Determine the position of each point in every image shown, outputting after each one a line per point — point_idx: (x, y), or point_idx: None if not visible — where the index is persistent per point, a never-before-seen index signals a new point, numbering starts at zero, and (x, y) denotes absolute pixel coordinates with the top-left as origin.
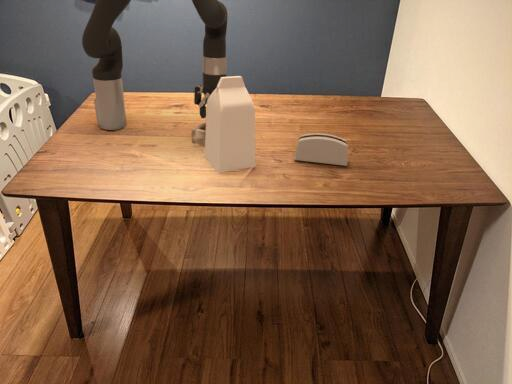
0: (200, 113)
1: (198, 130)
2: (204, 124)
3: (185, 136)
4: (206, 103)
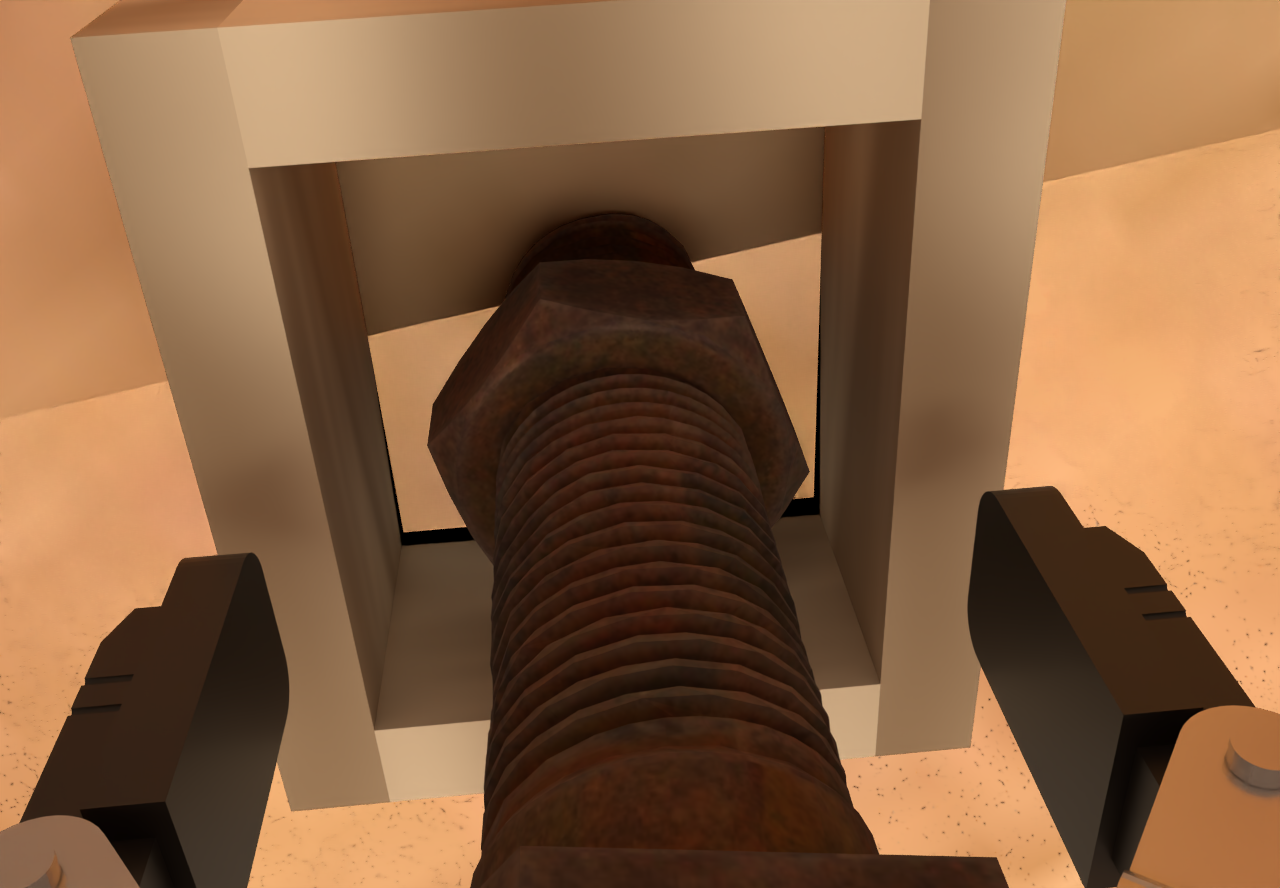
0: (1134, 582)
1: (832, 12)
2: (933, 468)
3: (1249, 140)
4: (918, 866)
